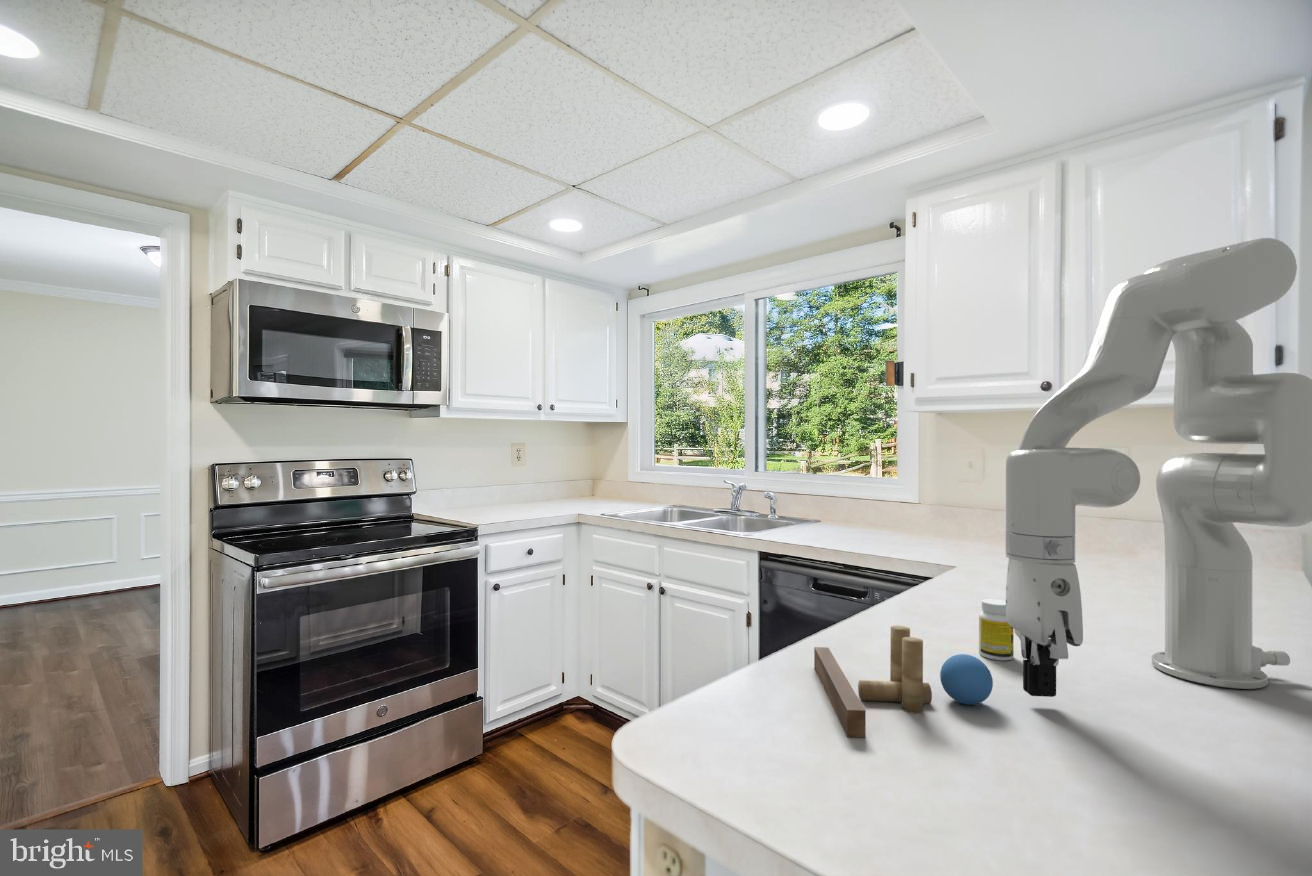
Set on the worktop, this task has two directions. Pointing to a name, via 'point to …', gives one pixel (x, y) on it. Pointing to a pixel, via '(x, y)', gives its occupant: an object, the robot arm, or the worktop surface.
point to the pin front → (887, 691)
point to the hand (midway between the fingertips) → (1039, 693)
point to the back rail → (840, 693)
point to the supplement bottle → (995, 631)
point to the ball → (966, 679)
